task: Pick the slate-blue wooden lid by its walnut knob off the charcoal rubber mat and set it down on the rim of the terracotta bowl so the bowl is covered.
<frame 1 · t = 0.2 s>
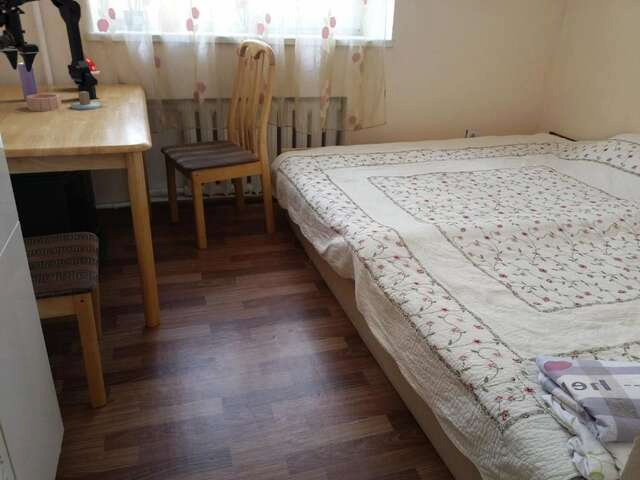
hand: (21, 70, 204), 14 cm above the table, fingers open, 9 cm apart
bowl: (45, 108, 211), on the table
mat: (85, 108, 215), on the table
decorative mushroom: (86, 90, 256), on the table
lid: (85, 107, 214), resting on mat
purple rectangular block: (32, 100, 227), on the table
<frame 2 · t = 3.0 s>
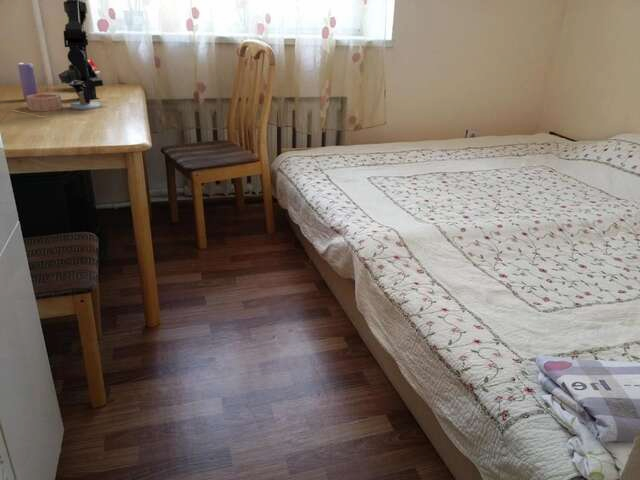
hand: (85, 102, 214), 2 cm above the table, fingers closed on lid, 3 cm apart
lid: (85, 107, 214), resting on mat, touching gripper
everything else where it was.
when the fingers open (8 cm above the table, at t = 5.8 s): lid drops 1 cm, resting on bowl.
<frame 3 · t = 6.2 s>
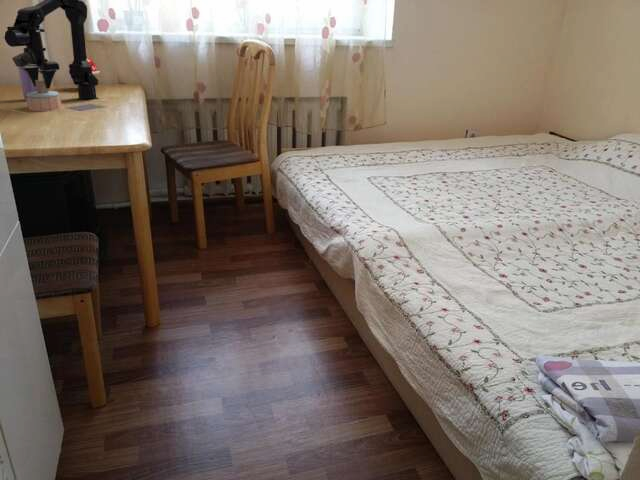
hand: (41, 87, 207), 8 cm above the table, fingers open, 8 cm apart
lid: (43, 96, 209), point 5 cm above the table, touching bowl
everything else where it was.
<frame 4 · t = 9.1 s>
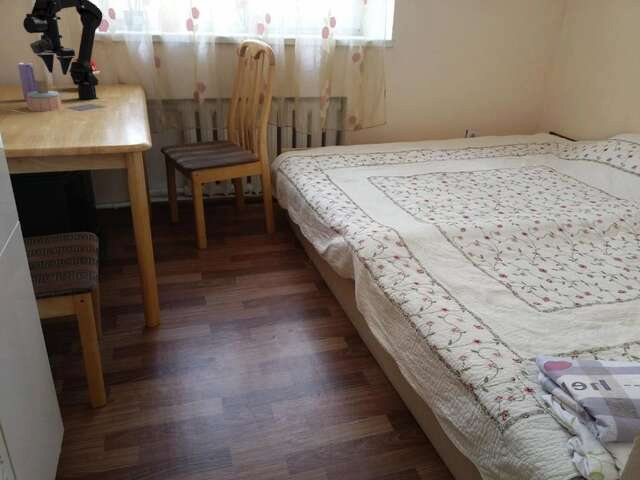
hand: (57, 73, 213), 13 cm above the table, fingers open, 9 cm apart
nothing on the table moved.
at the end: lid 0.0 cm off-centre on the bowl, point 5.0 cm above the bowl's base; lid tilted 0°; the gripper is holding nothing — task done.
